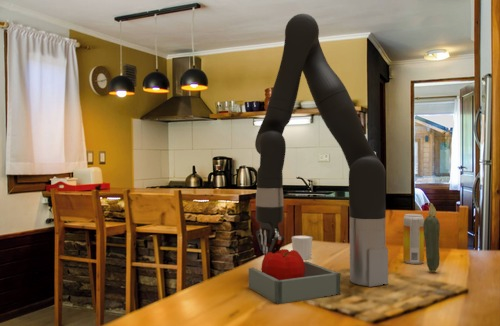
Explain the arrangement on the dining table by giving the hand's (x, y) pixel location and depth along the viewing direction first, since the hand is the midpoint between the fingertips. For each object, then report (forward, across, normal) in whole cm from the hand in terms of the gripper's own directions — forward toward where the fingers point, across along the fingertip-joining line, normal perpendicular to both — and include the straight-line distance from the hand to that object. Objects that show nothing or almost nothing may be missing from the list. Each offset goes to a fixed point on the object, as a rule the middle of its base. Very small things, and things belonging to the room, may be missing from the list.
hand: (269, 267), depth 129 cm
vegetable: (+3, -14, -45) cm, 47 cm away
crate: (+3, -13, 0) cm, 14 cm away
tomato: (+3, -8, 0) cm, 9 cm away
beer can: (+3, -1, -50) cm, 50 cm away
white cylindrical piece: (+3, +19, -22) cm, 29 cm away
